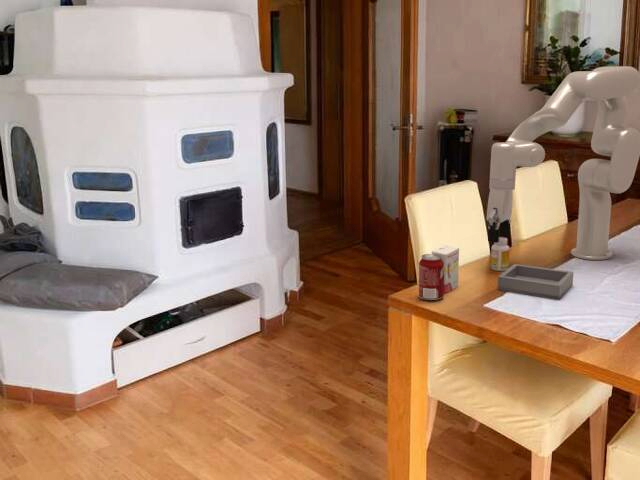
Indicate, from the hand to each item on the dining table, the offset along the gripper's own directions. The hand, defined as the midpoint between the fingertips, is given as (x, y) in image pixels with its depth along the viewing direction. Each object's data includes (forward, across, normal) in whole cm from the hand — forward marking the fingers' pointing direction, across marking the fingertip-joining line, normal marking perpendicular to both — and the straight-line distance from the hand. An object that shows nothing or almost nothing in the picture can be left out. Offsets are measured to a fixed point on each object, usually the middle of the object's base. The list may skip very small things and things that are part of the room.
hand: (498, 238), depth 204 cm
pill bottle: (+10, -1, +1) cm, 10 cm away
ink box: (+11, +25, -6) cm, 28 cm away
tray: (+10, +12, +16) cm, 22 cm away
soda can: (+11, +34, -6) cm, 36 cm away
